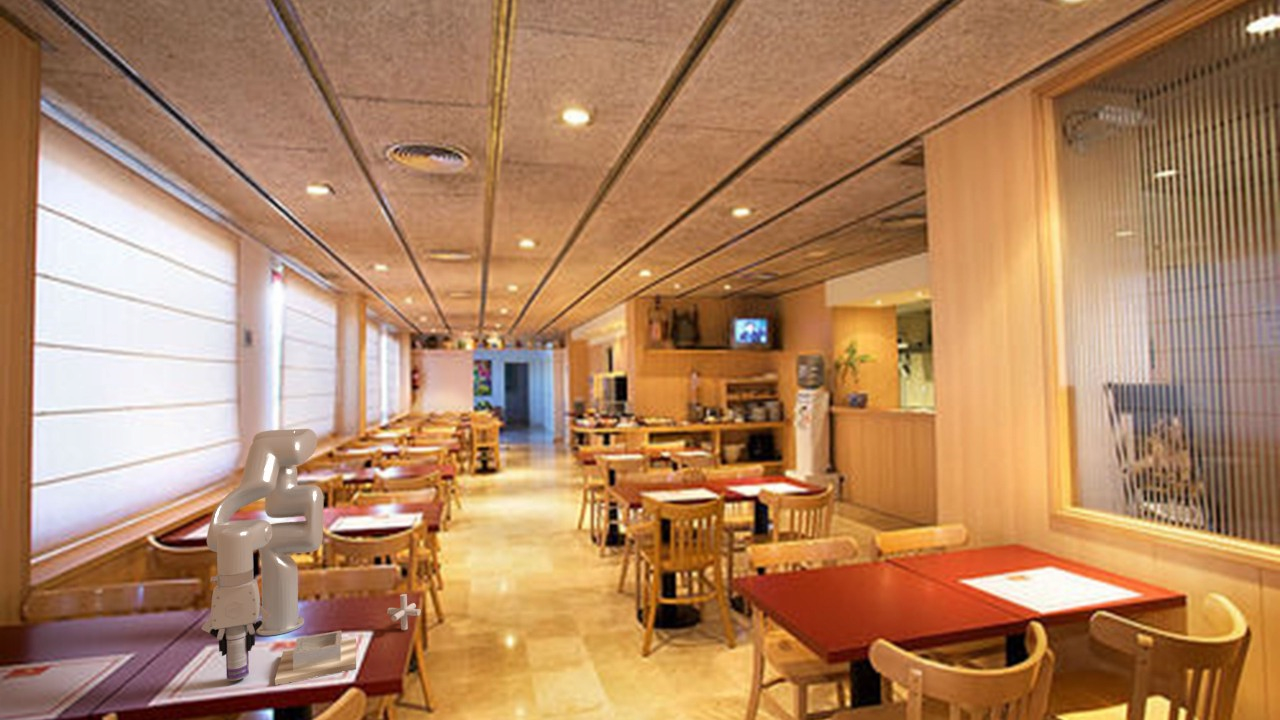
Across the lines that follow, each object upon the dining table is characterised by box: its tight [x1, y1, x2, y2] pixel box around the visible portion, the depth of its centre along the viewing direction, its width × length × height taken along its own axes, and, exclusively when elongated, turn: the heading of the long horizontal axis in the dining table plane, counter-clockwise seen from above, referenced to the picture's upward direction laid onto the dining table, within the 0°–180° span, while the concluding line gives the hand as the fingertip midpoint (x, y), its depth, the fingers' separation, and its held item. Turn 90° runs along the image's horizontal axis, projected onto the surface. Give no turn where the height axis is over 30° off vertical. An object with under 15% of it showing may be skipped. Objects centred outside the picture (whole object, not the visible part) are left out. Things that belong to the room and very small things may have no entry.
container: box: [225, 625, 250, 682], centre depth 154 cm, size 5×5×15 cm
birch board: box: [274, 637, 357, 686], centre depth 163 cm, size 18×18×2 cm
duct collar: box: [293, 630, 343, 670], centre depth 163 cm, size 11×11×4 cm
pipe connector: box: [386, 593, 422, 631], centre depth 184 cm, size 10×10×10 cm
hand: (237, 650), depth 154 cm, fingers closed on container, 4 cm apart
